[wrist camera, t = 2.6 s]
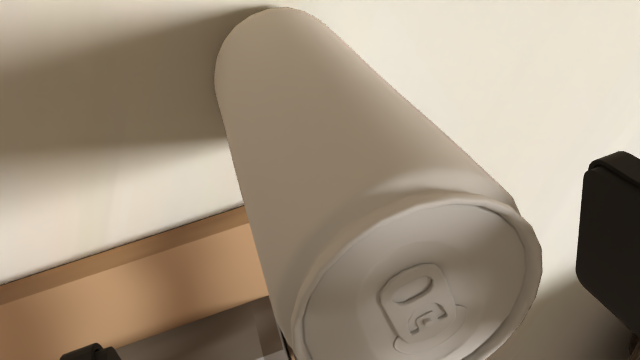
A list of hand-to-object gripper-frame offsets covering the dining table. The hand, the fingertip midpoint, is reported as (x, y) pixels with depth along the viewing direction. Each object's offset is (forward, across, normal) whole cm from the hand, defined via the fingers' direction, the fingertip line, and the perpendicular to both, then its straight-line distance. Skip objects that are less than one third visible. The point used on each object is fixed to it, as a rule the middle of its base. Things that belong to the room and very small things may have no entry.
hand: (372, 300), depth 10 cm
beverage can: (+11, -1, -1) cm, 11 cm away
